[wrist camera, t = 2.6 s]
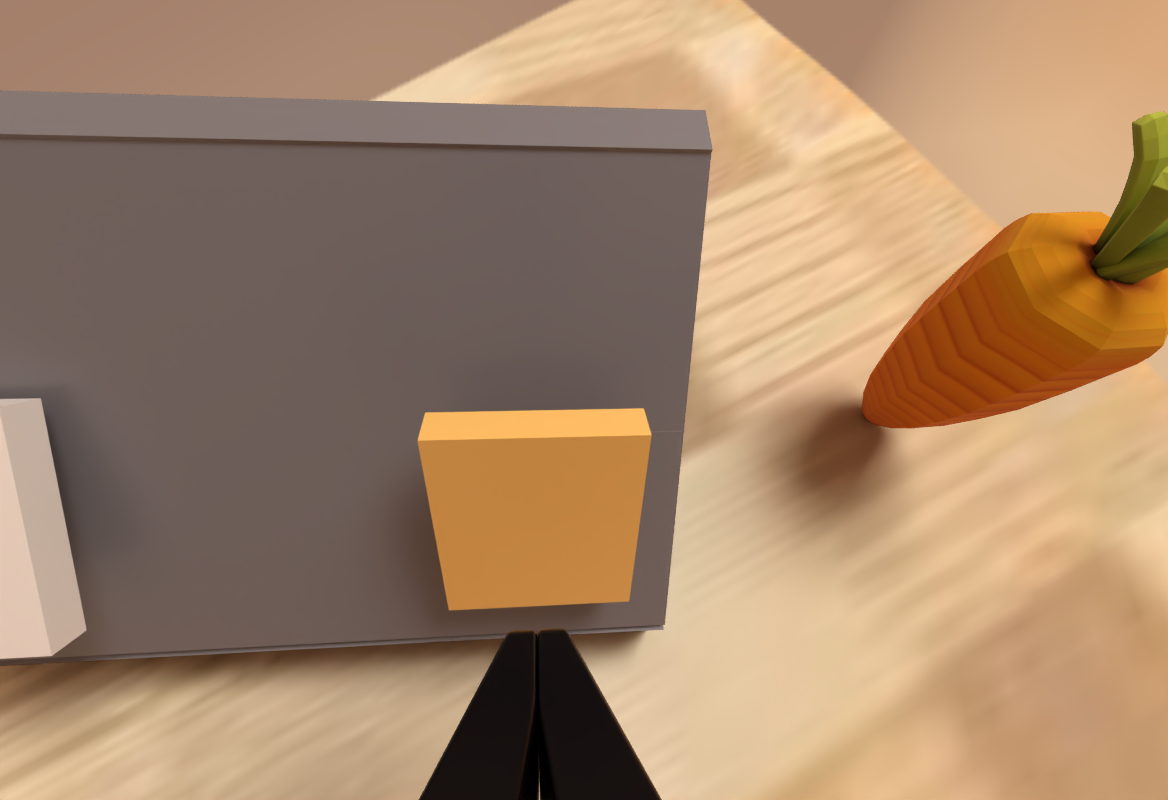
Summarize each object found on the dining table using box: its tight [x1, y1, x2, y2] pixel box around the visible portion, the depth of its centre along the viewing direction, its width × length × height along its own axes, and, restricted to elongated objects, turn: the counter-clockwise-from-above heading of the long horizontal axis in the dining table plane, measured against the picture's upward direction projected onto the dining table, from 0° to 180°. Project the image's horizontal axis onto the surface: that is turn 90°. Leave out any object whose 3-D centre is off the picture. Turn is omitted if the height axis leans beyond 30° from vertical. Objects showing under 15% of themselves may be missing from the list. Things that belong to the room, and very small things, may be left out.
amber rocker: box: [417, 408, 652, 610], centre depth 14 cm, size 5×5×5 cm
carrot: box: [862, 111, 1168, 428], centre depth 17 cm, size 5×5×15 cm
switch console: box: [0, 91, 712, 666], centre depth 15 cm, size 12×22×13 cm, turn 93°
